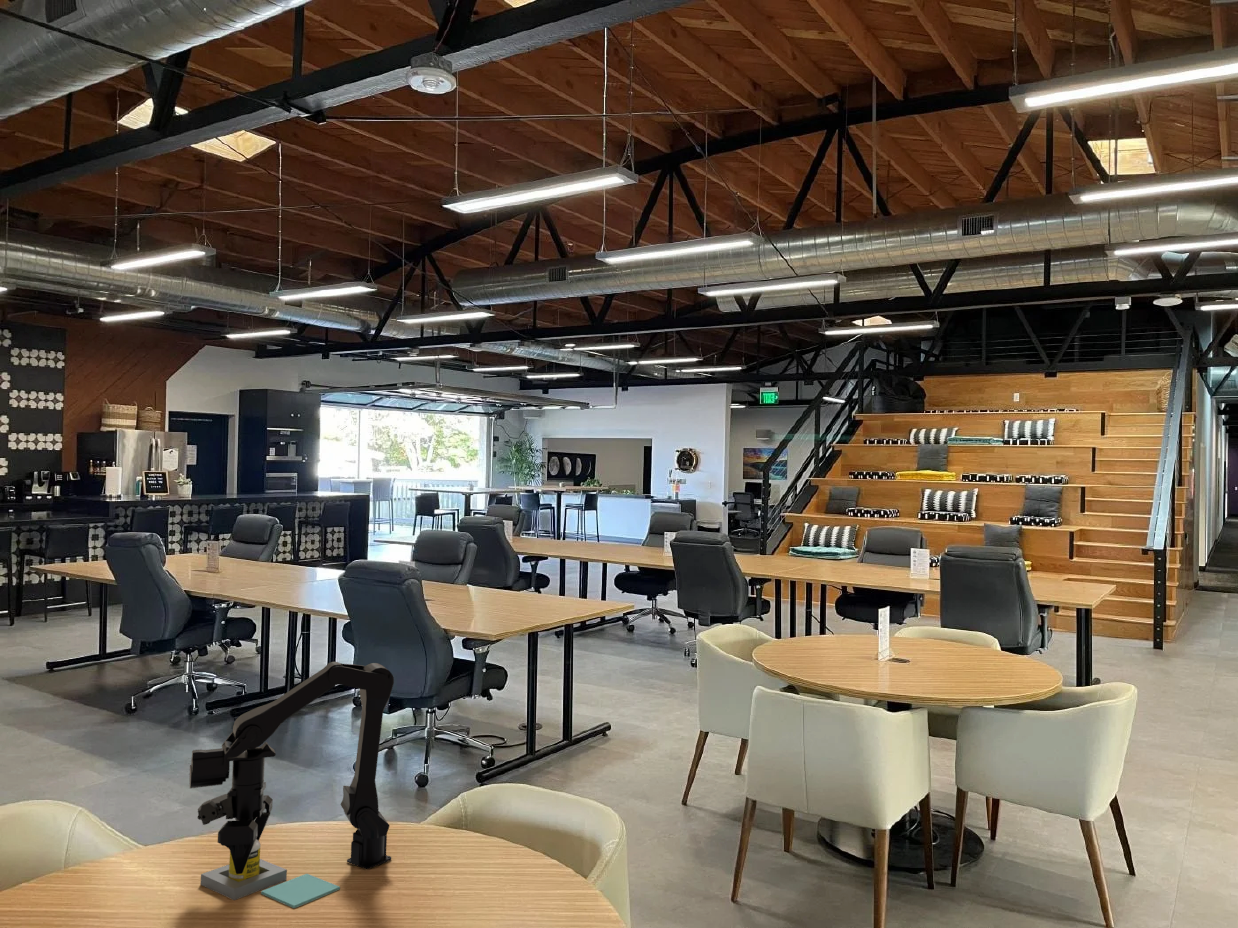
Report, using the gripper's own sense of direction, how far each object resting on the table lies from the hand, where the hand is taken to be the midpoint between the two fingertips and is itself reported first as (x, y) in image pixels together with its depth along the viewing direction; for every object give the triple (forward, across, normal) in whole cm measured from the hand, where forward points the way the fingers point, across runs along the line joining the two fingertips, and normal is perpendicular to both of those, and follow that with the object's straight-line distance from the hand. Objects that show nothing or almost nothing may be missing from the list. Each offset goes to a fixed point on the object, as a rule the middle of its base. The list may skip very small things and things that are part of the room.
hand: (244, 863), depth 171 cm
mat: (+4, +6, +11) cm, 13 cm away
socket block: (+4, 0, 0) cm, 4 cm away
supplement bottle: (+4, 0, 0) cm, 4 cm away
